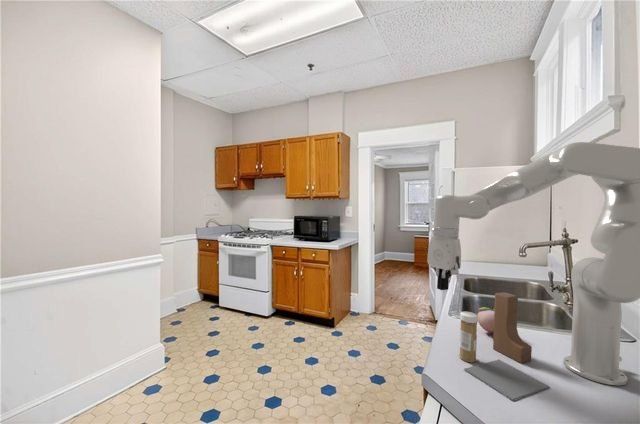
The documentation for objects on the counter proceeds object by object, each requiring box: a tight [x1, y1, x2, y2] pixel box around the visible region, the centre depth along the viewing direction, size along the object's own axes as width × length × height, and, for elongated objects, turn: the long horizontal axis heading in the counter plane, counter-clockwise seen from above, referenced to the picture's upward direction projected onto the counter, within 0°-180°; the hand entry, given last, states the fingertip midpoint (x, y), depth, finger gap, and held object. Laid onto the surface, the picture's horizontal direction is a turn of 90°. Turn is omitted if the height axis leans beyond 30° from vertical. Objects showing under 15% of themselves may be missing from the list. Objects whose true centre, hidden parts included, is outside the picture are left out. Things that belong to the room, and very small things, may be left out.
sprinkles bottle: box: [458, 311, 478, 363], centre depth 82 cm, size 5×5×13 cm
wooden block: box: [492, 291, 533, 364], centre depth 85 cm, size 9×4×18 cm, turn 20°
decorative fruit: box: [476, 305, 495, 335], centre depth 100 cm, size 9×8×10 cm
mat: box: [463, 359, 550, 402], centre depth 73 cm, size 14×13×1 cm
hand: (442, 289), depth 91 cm, fingers closed
